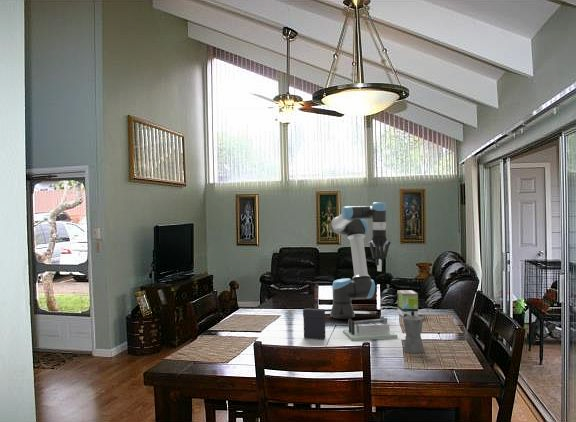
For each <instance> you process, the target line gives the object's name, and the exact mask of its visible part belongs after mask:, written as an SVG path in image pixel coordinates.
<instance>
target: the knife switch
mask: <svg viewBox="0 0 576 422" xmlns="http://www.w3.org/2000/svg"><path fill="white" fill-rule="evenodd" d="M382 318H383V322H375V323H364V324H355V325H354V321H355V320H353V319H352V318H347V319H348V330H349V333H351V335H355V333H356V334H357V335H359V336H365V335H382V334H390V331H391V330H390V323H388V318H387V317H385V316H383V315H381V316H380V315H379V319H382Z"/></svg>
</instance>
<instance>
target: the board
mask: <svg viewBox="0 0 576 422" xmlns="http://www.w3.org/2000/svg"><path fill="white" fill-rule="evenodd" d="M342 334H343V335H345V336H346V337H347V338H348V339H349V340H350V341H353V342H355V341H371V340H385V339H387V340H388V339H389V340H390V339H398V334H396V333H395V332H393V331H392V330H390V334H382V335H365V336H359V335H357V334H356V333H355V335H351V333H349V329H342Z"/></svg>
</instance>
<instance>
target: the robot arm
mask: <svg viewBox="0 0 576 422" xmlns="http://www.w3.org/2000/svg"><path fill="white" fill-rule="evenodd" d="M369 219H370V220H372V239H371V240H370V241H368V242H367V244H368V246H369V248H370V252H371V257H372V259H375V266H376V268H377V269H376V271H377V272H382V271H383V270H382V266H383V265H384V260H385V259H387V256H388V252H389V248H390V245H391V241H389V240H388V239H387V230H386V229H387V204H386V203H385V202H378V201H377V202H375V201H374V202H373V203H372V205H362V206H361V205H358V206H356V205H353V206H352V205H351V206H350V205H346V206H343V207H342V209H341V213H340V214H339V215H338V216H334V218H333V219H331V222H330V224H329V225H330V229H331V231H332V232H334V233H335V234H337V235H341V236H347V239H348V240H349V243H350V249H351V250H350V251H351V258H352V266H353V276H352V279H351V278H349V277H348V278H340V279H339V278H338V279H336V280H333V282H332V307H331V311H330V318H332V317H333V318H332V319H344V320H345V319H346V320H347V319H352V318H355V317H356V316H355V311H354V309H353V305H352V300H363V299H365V300H366V299H371V298H373V297H374V295H375V291H376V284H375V280H374V279H372V278H371V276H370V275H369V272H368V266H367V265H368V264H367V257H366V251H365V242H364V238H365V237H366V234H367V233H368V225H367V224H368V223H367V221H366V220H369ZM384 245H385V246H384Z"/></svg>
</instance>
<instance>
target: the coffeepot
mask: <svg viewBox="0 0 576 422" xmlns="http://www.w3.org/2000/svg"><path fill="white" fill-rule="evenodd" d="M402 320H403V325H404V332H405V338H404V344H403V345H404V346H403V351H404V352H406V353H409V354H420V353H424V345H423V339H422V335H421V333H422V332H423V331H422V330H423V324H424V323H423V321H424V317H422V316H419V315H418V316H414V312H413V311H412V312H411V316H410V315H407V314H405V315H404V317H402Z"/></svg>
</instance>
